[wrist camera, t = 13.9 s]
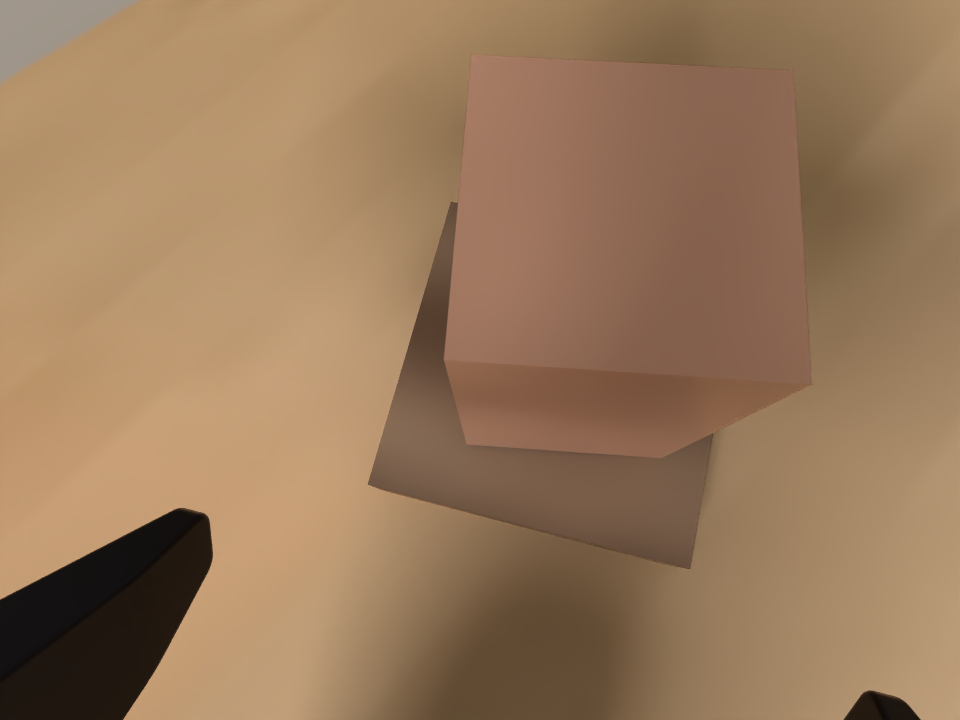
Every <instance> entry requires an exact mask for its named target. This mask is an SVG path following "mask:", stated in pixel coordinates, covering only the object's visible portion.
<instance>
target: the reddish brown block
mask: <svg viewBox="0 0 960 720" xmlns="http://www.w3.org/2000/svg"><path fill="white" fill-rule="evenodd" d="M444 363H445V366H446V370H447V374H448V377H449V381H450V385H451V388H452V392H453V396H454V399H455V403H456V407H457V410H458V414H459V418H460V422H461V425H462V429H463V433H464V436H465V440H466V444H467V445H480V446H494V447H509V448H523V449H537V450H551V451H565V452H579V453H593V454H607V455H622V456H636V457H650V458H663V457H665V456H667V455H669V454H671V453H673V452H675V451H677V450H679V449H681V448H683V447H685V446H687V445H689V444H691V443H694V442H696V441H698V440H700V439H702V438H704V437H706V436H708V435H710V434H712V433H714V432H716V431H718V430H720V429H722V428H724V427H726V426H728V425H730V424H732V423H734V422H736V421H738V420H740V419H742V418H744V417H746V416H748V415H750V414H752V413H755V412H757V411H759V410H761V409H763V408H765V407H767V406H769V405H771V404H773V403H775V402H777V401H779V400H781V399H783V398H785V397H787V396H789V395H791V394H793V393H795V392H797V391H799V390H801V389H803V388H805V387H807V386H809V385H811V384H812V382H811V365H810V347H809V330H808V313H807V296H806V278H805V261H804V244H803V227H802V209H801V192H800V175H799V158H798V140H797V123H796V106H795V89H794V71H793V70H775V69H755V68H734V67H714V66H693V65H673V64H653V63H632V62H612V61H591V60H571V59H550V58H530V57H509V56H489V55H471V66H470V77H469V88H468V99H467V110H466V121H465V132H464V143H463V154H462V165H461V176H460V187H459V198H458V209H457V220H456V231H455V242H454V254H453V265H452V276H451V287H450V298H449V309H448V320H447V331H446V342H445V353H444Z"/></svg>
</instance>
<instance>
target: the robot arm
mask: <svg viewBox="0 0 960 720" xmlns="http://www.w3.org/2000/svg"><path fill="white" fill-rule="evenodd" d="M212 558H213V549H212V539H211V530H210V521H209V518H208V517H207V515H206V514H204V513H201V512H197V511H194V510H190V509H186V508H178V509H175V510H173V511H171V512H169V513H167V514H165V515H163V516H161V517H159V518H157V519H155V520H153V521H151V522H149V523H148V524H146V525H144V526H142V527H140V528H138V529H136V530H134V531H132V532H130V533H128V534H126V535H124V536H122V537H120V538H118V539H117V540H115V541H113V542H111V543H109V544H107V545H105V546H103V547H101V548H99V549H97V550H95V551H93V552H91V553H89V554H88V555H86V556H84V557H82V558H80V559H78V560H76V561H74V562H72V563H70V564H68V565H66V566H64V567H62V568H60V569H58V570H57V571H55V572H53V573H51V574H49V575H47V576H45V577H43V578H41V579H39V580H37V581H35V582H33V583H31V584H29V585H28V586H26V587H24V588H22V589H20V590H18V591H16V592H14V593H12V594H10V595H8V596H6V597H4V598H2V599H0V720H123V719H124V717H125V716H126V714H127V713H128V711H129V710H130V708H131V707H132V705H133V704H134V702H135V701H136V699H137V698H138V696H139V695H140V693H141V692H142V690H143V689H144V687H145V686H146V684H147V683H148V681H149V679H150V678H151V676H152V675H153V673H154V672H155V670H156V668H157V667H158V665H159V663H160V661H161V659H162V658H163V656H164V654H165V652H166V650H167V648H168V647H169V645H170V643H171V641H172V639H173V637H174V635H175V633H176V631H177V630H178V628H179V626H180V624H181V622H182V620H183V618H184V616H185V615H186V613H187V611H188V609H189V607H190V605H191V603H192V601H193V599H194V598H195V596H196V594H197V592H198V590H199V588H200V586H201V584H202V582H203V581H204V579H205V577H206V575H207V573H208V571H209V569H210V566H211V563H212ZM844 720H920V718H919V717H918V716H917V715H916V714H915V712H914V711H913V710H912V709H911V707H910V706H909V705H908V704H907V703H906V702H904V701H903V700H902V699H900V698H898V697H895V696H891V695H887V694H884V693H880V692H876V691H870V690H869V691H867V692H864V693H863V694H862V695H861V696H860V698H859V699H858V700H857V702H856V703H855V705H854V706H853V707H852V709H851V710H850V712H849V713H848V714H847V716H846V717H845V719H844Z"/></svg>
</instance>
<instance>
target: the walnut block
mask: <svg viewBox="0 0 960 720" xmlns="http://www.w3.org/2000/svg"><path fill="white" fill-rule="evenodd" d="M457 209H458V203H454V202H451V204H450V207H449V211H448V214H447V217H446V221H445V224H444V228H443V231H442V234H441V238H440V241H439V245H438V248H437V251H436V255H435V258H434V261H433V265H432V268H431V272H430V275H429V278H428V282H427V285H426V289H425V292H424V295H423V299H422V302H421V306H420V309H419V312H418V316H417V319H416V323H415V326H414V329H413V333H412V336H411V340H410V343H409V346H408V350H407V353H406V356H405V360H404V363H403V367H402V370H401V373H400V377H399V380H398V384H397V387H396V390H395V394H394V397H393V401H392V404H391V407H390V411H389V414H388V418H387V421H386V424H385V428H384V431H383V435H382V438H381V441H380V445H379V448H378V452H377V455H376V458H375V462H374V465H373V468H372V472H371V475H370V479H369V482H368V485H371V486H373V487H376V488H378V489H381V490H384V491H388V492H391V493H395V494H399V495H403V496H407V497H410V498H414V499H418V500H422V501H426V502H430V503H433V504H437V505H441V506H445V507H449V508H452V509H456V510H460V511H464V512H468V513H471V514H475V515H479V516H483V517H487V518H490V519H494V520H498V521H502V522H506V523H510V524H513V525H517V526H521V527H525V528H529V529H532V530H536V531H540V532H544V533H548V534H551V535H555V536H559V537H563V538H567V539H571V540H574V541H578V542H582V543H586V544H590V545H593V546H597V547H601V548H605V549H609V550H612V551H616V552H620V553H624V554H628V555H631V556H635V557H639V558H643V559H647V560H651V561H654V562H658V563H662V564H666V565H670V566H675V567H681V568H688V569H690V567H691V561H692V555H693V549H694V543H695V537H696V531H697V525H698V520H699V514H700V508H701V502H702V496H703V490H704V484H705V478H706V472H707V467H708V461H709V455H710V449H711V443H712V437H713V433H712V434H710V435H708V436H706V437H704V438H702V439H700V440H698V441H696V442H694V443H691V444H689V445H687V446H685V447H683V448H681V449H679V450H677V451H675V452H673V453H671V454H669V455H667V456H665V457H663V458H650V457H636V456H622V455H607V454H593V453H579V452H565V451H551V450H537V449H523V448H509V447H494V446H480V445H467V444H466V440H465V436H464V433H463V429H462V425H461V422H460V418H459V414H458V410H457V407H456V403H455V399H454V396H453V392H452V388H451V385H450V381H449V377H448V374H447V370H446V366H445V363H444V353H445V342H446V331H447V320H448V309H449V298H450V287H451V276H452V265H453V254H454V242H455V231H456V220H457Z"/></svg>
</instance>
